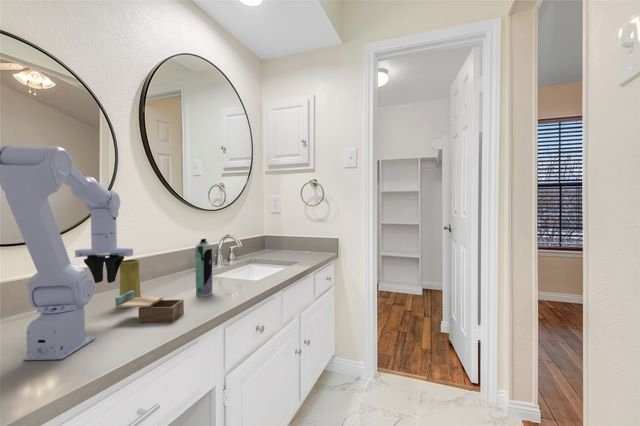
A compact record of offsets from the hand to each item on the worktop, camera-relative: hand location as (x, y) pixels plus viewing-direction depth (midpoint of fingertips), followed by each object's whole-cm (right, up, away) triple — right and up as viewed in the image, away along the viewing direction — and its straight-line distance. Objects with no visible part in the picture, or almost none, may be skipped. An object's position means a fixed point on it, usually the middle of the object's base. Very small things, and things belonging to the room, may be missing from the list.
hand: (105, 282), depth 82 cm
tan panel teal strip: (+10, -6, 0) cm, 11 cm away
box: (+16, -10, +1) cm, 19 cm away
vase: (-1, -10, +12) cm, 16 cm away
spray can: (+19, -10, +23) cm, 31 cm away
